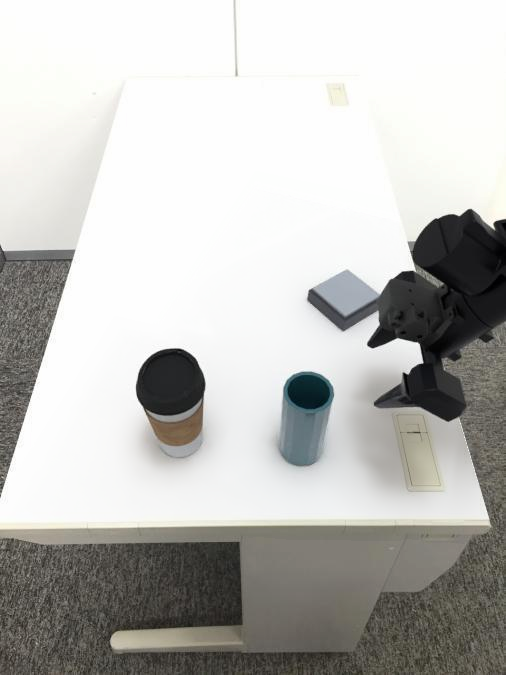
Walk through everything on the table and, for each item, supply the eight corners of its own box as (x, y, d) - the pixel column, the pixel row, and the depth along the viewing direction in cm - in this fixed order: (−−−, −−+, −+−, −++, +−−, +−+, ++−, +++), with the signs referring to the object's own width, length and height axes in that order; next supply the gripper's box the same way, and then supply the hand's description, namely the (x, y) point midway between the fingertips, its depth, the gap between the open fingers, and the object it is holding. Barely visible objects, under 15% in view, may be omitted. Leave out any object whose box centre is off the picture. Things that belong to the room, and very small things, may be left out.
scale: (381, 308, 91) (385, 295, 88) (342, 331, 87) (345, 318, 85) (345, 279, 95) (347, 266, 93) (307, 300, 92) (308, 287, 89)
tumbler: (328, 435, 74) (339, 380, 64) (315, 472, 70) (325, 419, 61) (287, 422, 76) (292, 365, 66) (272, 457, 72) (276, 402, 62)
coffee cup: (219, 420, 76) (213, 354, 64) (199, 473, 70) (189, 410, 59) (164, 407, 77) (149, 339, 66) (140, 457, 72) (120, 393, 60)
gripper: (413, 212, 58) (320, 292, 68) (443, 340, 46) (324, 415, 56) (479, 260, 63) (382, 329, 73) (522, 388, 51) (399, 450, 61)
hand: (372, 374), depth 66 cm, fingers open, 9 cm apart
